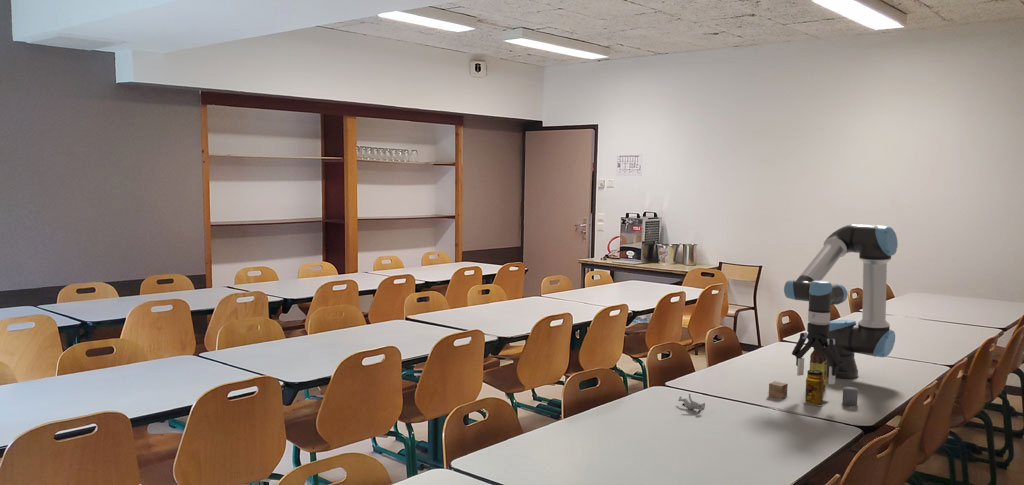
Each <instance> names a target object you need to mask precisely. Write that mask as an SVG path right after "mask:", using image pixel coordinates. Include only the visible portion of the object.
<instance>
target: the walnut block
mask: <svg viewBox="0 0 1024 485" xmlns="http://www.w3.org/2000/svg"><path fill="white" fill-rule="evenodd" d="M768 397H771V398H776V399H780V400H782V399H784V398H786V397H788V383H787V382H786V383H785V382H781V381H777V380H774V381H772V382H769V384H768Z"/></svg>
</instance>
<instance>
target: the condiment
mask: <svg viewBox="0 0 1024 485" xmlns="http://www.w3.org/2000/svg"><path fill="white" fill-rule="evenodd" d="M822 375H823V372H822V371H819V370H810V369H808V370H807V377H806V378H805V397H804V398H805V399H804V400H803V401H802V402H801V403H802V404H806V405H807V404H808V405H811V406H818V407H823V406H824V405H826V404H827V403H828V402H829V400H824V389H823V383H824V380H823V378H822V377H823V376H822Z"/></svg>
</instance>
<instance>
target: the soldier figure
mask: <svg viewBox="0 0 1024 485" xmlns="http://www.w3.org/2000/svg"><path fill="white" fill-rule="evenodd" d="M687 395H688V399H689V400H688V399H687V398H683V397H682V396H679V399H677V400H678V402H683V403H682V404H684V405H683V406H686V407H687V408H688V409H690V410H691V409H693V410H698V411H699V412H701V411H702V412H703V411H704V410H705V407H706V403H705V402H703V403H699V402H698V401H694V400H693V399H692V398H691V393H688V394H687Z"/></svg>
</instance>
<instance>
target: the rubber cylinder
mask: <svg viewBox="0 0 1024 485" xmlns="http://www.w3.org/2000/svg"><path fill="white" fill-rule="evenodd" d="M858 393H859V389H858V388H857V387H853V386H844V387H842V402H841V403H842V404H841V405H843V406H845V405H846V407H850V406H852V407H853V406H855V407H858V397H859V396H858ZM853 408H854V407H853Z"/></svg>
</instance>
